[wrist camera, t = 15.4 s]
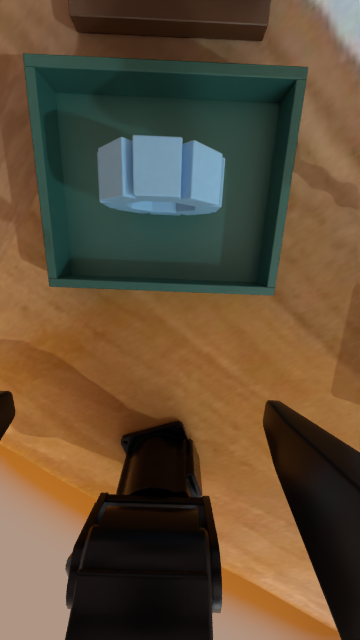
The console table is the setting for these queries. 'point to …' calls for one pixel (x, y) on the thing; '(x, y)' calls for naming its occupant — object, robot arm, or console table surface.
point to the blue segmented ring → (160, 176)
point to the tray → (191, 124)
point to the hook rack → (173, 17)
